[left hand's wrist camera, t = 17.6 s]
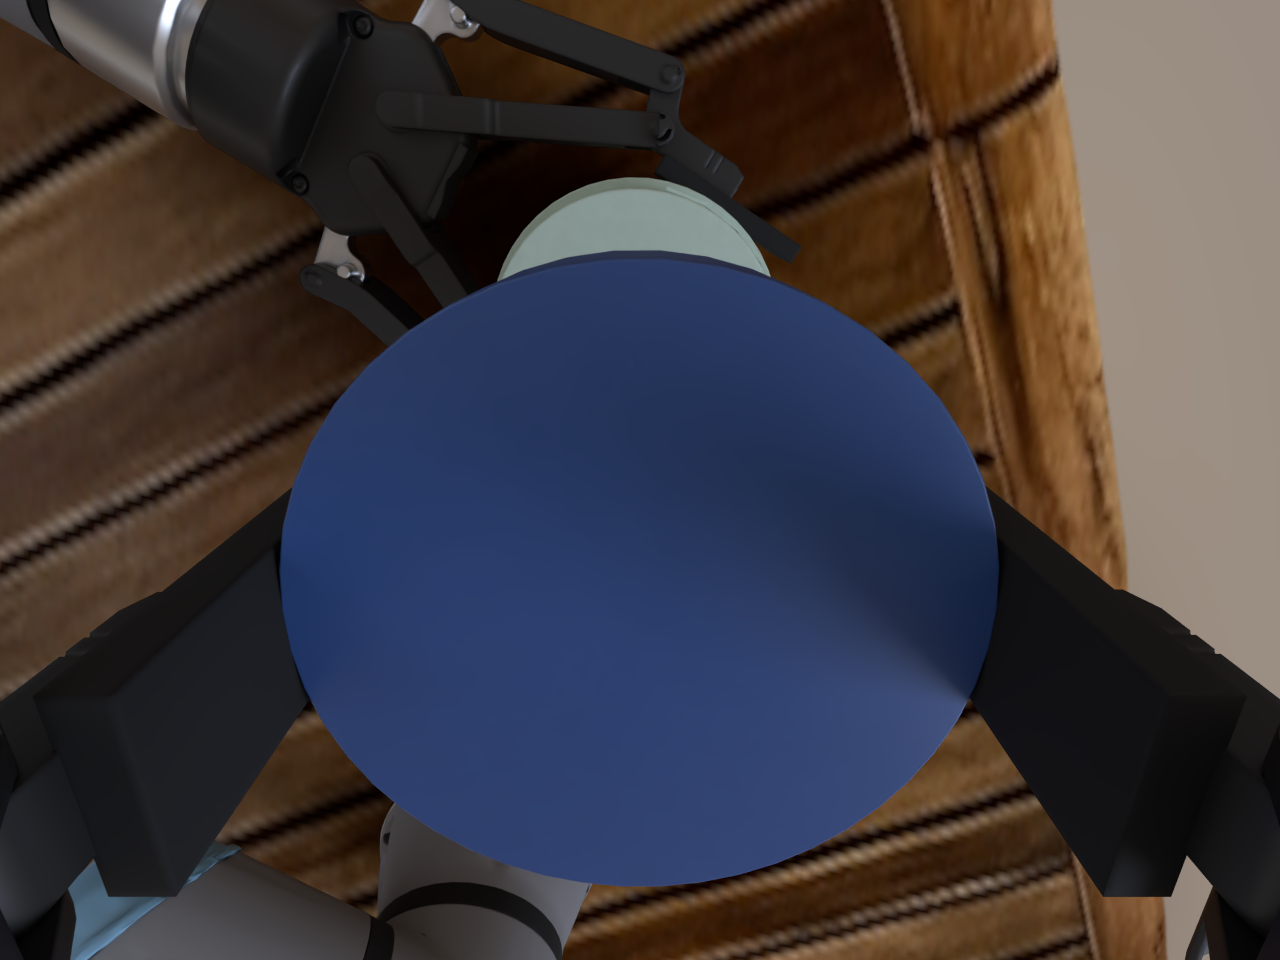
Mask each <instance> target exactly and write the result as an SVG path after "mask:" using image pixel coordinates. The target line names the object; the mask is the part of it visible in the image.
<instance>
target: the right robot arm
mask: <svg viewBox="0 0 1280 960" xmlns="http://www.w3.org/2000/svg"><path fill="white" fill-rule="evenodd" d="M0 18H2V19H4V20H5V21H7V22H9V23H11V24H12V25H14V26H16V27H18V28H19V29H21V30H23V31H25V32H26V33H28V34H30V35H32V36H33V37H35V38H37V39H38V40H40V41H42V42H44V43H45V44H47V45H49V46H50V47H52V48H54V49H56V50H57V51H59V52H61V53H62V54H64V55H65V56H67V57H68V58H70V59H72V60H73V61H75V62H76V63H78V64H80V65H81V66H83V67H85V68H86V69H88V70H90V71H91V72H93V73H94V74H96V75H98V76H99V77H101V78H102V79H104V80H106V81H107V82H109V83H110V84H112V85H114V86H115V87H117V88H119V89H120V90H122V91H123V92H125V93H127V94H128V95H130V96H132V97H133V98H135V99H136V100H138V101H140V102H141V103H143V104H145V105H146V106H148V107H149V108H151V109H153V110H154V111H156V112H158V113H159V114H161V115H162V116H164V117H166V118H167V119H169V120H171V121H172V122H174V123H175V124H177V125H179V126H180V127H183V128H186V129H189V130H192V131H199V133H200V135H201V136H202V137H203V138H204V139H205V140H206V141H207V142H208V143H210V144H211V145H213V146H215V147H216V148H218V149H220V150H221V151H223V152H224V153H226V154H228V155H229V156H231V157H233V158H234V159H236V160H238V161H239V162H241V163H243V164H244V165H246V166H248V167H249V168H251V169H253V170H254V171H256V172H258V173H259V174H261V175H263V176H264V177H266V178H268V179H269V180H271V181H273V182H274V183H276V184H278V185H279V186H281V187H283V188H284V189H286V190H288V191H289V192H291V193H293V194H295V195H296V196H298V197H299V198H301V199H302V200H304V201H305V202H306V203H307V204H308V205H309V206H310V207H311V208H312V209H313V211H314V212H315V213H316V215H317V216H318V218H319V219H320V221H321V222H322V223H323V225H324V226H325V228H324V232H323V235H322V238H321V242H320V245H319V248H318V252H317V255H316V259H315V262H314V264H310V265H306V266H305V267H303V268H302V269H301V271H300V275H299V279H300V283H301V285H302V286H303V288H304V289H305V290H306V291H308V292H309V293H311V294H314V295H316V296H318V297H320V298H322V299H324V300H327V301H329V302H331V303H333V304H335V305H337V306H340V307H342V308H344V309H346V310H348V311H349V312H351V313H352V314H353V315H354V316H355V317H356V318H357V319H358V320H359V321H360V322H362V323H363V324H364V325H365V326H366V327H367V328H368V329H369V330H370V331H371V332H373V333H374V334H375V335H376V336H377V337H378V338H379V339H380V340H381V341H382V342H384V343H385V344H386V345H387V346H388V347H389V346H391V345H392V344H393V343H394V342H395V341H396V340H398V339H399V338H400V337H401V336H402V335H403V334H404V333H406V332H407V331H409V330H410V329H412V328H414V327H415V326H417V325H418V324H420V323H421V322H423V321H425V320H424V319H423V318H422V317H421V316H420V315H419V314H418V313H416V312H415V311H414V310H413V309H412V308H411V307H410V306H409V305H408V304H407V303H406V302H405V301H404V300H403V299H402V298H400V297H399V296H398V295H397V294H396V293H395V292H394V291H393V290H392V289H390V288H389V287H388V286H387V285H386V284H384V283H383V282H381V281H380V280H378V279H377V278H375V277H373V276H371V274H372V267H371V264H370V262H369V261H368V260H367V259H366V258H365V257H364V256H363V255H362V254H360V252H359V251H358V249H357V247H356V242H355V240H356V236H357V235H370V234H383V233H388V234H389V235H390V237H391V238H392V240H393V241H394V243H395V244H396V246H397V247H398V249H399V250H400V252H401V253H402V254H403V256H404V257H405V259H406V260H407V261H408V262H409V263H410V264H411V265H412V266H413V267H415V268H416V269H417V270H418V272H419V273H420V274H421V276H422V277H423V279H424V280H425V282H426V283H427V285H428V286H429V288H430V289H431V291H432V292H433V294H434V295H435V297H436V298H437V300H438V301H439V302H440V304H441V305H442V307H443V308H445V307H447V306H448V305H450V304H452V303H454V302H456V301H458V300H460V299H462V298H464V297H466V296H468V295H470V294H472V293H474V292H476V291H478V290H480V287H479V285H478V284H477V282H476V281H475V279H474V278H473V276H472V275H471V273H470V272H469V270H468V269H467V267H466V265H465V264H464V262H463V261H462V259H461V258H460V256H459V255H458V253H457V251H456V249H455V246H454V243H453V241H452V239H451V237H450V236H449V234H448V233H447V231H446V230H445V228H444V227H443V225H442V223H441V220H442V219H447V218H448V216H449V214H450V211H451V209H452V207H453V205H454V203H455V199H456V193H457V188H458V183H459V182H460V180H461V179H462V178H463V177H464V176H465V175H466V174H467V173H468V171H469V170H470V169H471V168H472V166H473V164H474V162H475V160H476V158H477V155H478V153H479V151H478V150H477V139H483V140H496V141H521V142H535V143H548V144H562V145H576V146H590V147H603V148H617V149H631V150H645V151H655V152H656V153H658V154H659V155H661V156H662V157H663V159H662V161H661V162H660V164H659V166H658V168H657V169H656V171H655V175H657V176H658V177H659V178H661V179H662V180H664V181H669V182H672V183H675V184H678V185H681V186H684V187H687V188H689V189H691V190H693V191H695V192H698V193H700V194H702V195H704V196H706V197H707V198H709V199H710V200H712V201H713V202H715V203H716V204H718V205H719V206H721V207H722V208H723V209H724V210H725V211H726V212H728V213H729V214H730V215H731V216H732V217H733V218H734V219H735V220H737V222H738V223H739V224H740V225H741V226H742V227H743V229H744V230H745V231H746V232H747V233H748V235H749V236H750V237H751V239H752V240H753V241H754V242H756V243H757V244H759V245H760V246H762V247H763V248H765V249H766V250H768V251H769V252H771V253H772V254H774V255H775V256H776V257H778V258H780V259H782V260H784V261H787V262H789V263H791V262H792V261H793V259H794V258H795V256H796V255H797V253H798V252H799V250H800V249H801V246H800V245H798V244H797V243H796V242H794V241H793V240H791V239H790V238H788V237H787V236H785V235H784V234H782V233H781V232H779V231H778V230H777V229H775V228H774V227H772V226H771V225H769V224H768V223H766V222H765V221H763V220H762V219H760V218H759V217H758V216H756V215H755V214H753V213H752V212H750V211H749V210H747V209H746V208H744V207H743V206H741V205H740V204H739V203H737V202H736V201H734V200H733V199H731V198H732V196H733V195H734V193H735V192H736V190H737V188H738V187H739V185H740V184H741V182H742V180H743V179H744V176H743V175H742V173H741V171H740V170H739V168H738V167H737V165H735V164H734V163H732V162H731V161H730V160H728V159H727V158H725V157H724V156H722V155H721V154H719V153H718V152H716V151H715V150H714V149H712V148H711V147H709V146H708V145H707V144H705V143H704V142H702V141H701V140H699V139H698V138H696V137H695V136H694V135H692V134H691V133H689V132H688V131H687V130H686V129H685V128H684V127H683V126H682V124H681V122H680V120H679V114H678V110H679V104H680V99H681V94H682V89H683V84H684V79H685V70H684V66H683V64H682V63H681V61H680V60H679V59H677V58H675V57H673V56H671V55H668V54H665V53H662V52H660V51H657V50H654V49H651V48H649V47H646V46H643V45H641V44H638V43H635V42H632V41H630V40H627V39H624V38H621V37H619V36H616V35H613V34H610V33H608V32H605V31H602V30H599V29H597V28H594V27H591V26H588V25H586V24H583V23H580V22H577V21H575V20H572V19H569V18H566V17H564V16H561V15H558V14H556V13H553V12H550V11H547V10H545V9H542V8H539V7H536V6H534V5H531V4H528V3H525V2H523V1H520V0H424V1H423V3H422V5H421V7H420V9H419V10H418V12H417V14H416V16H415V18H414V19H413V21H412V23H409V22H398V21H390V20H386V19H383V18H380V17H379V16H377V15H376V14H374V13H373V12H371V11H370V10H368V9H367V8H365V7H364V6H362V5H361V4H359V3H358V2H356V1H355V0H0ZM483 32H486V33H487V34H488V35H490V36H492V37H493V38H495V39H497V40H499V41H500V42H503V43H505V44H507V45H510V46H512V47H515V48H518V49H521V50H523V51H526V52H529V53H532V54H535V55H537V56H540V57H543V58H546V59H549V60H551V61H554V62H557V63H560V64H563V65H565V66H568V67H571V68H574V69H577V70H579V71H582V72H585V73H588V74H591V75H593V76H596V77H599V78H602V79H605V80H607V81H610V82H613V83H616V84H619V85H621V86H624V87H627V88H630V89H633V90H635V91H638V92H641V93H644V94H647V95H649V99H648V105H647V110H646V111H632V110H619V109H605V108H592V107H578V106H564V105H551V104H537V103H524V102H510V101H498V100H493V99H487V98H477V97H464V96H462V94H461V92H460V90H459V88H458V85H457V83H456V81H455V79H454V76H453V74H452V72H451V70H450V67H449V65H448V63H447V61H446V58H445V56H444V54H443V52H442V50H441V48H440V46H441V44H442V43H443V42H444V41H445V40H447V39H449V38H458V39H460V40H462V41H465V42H470V43H471V42H475V41H476V40H478V39H479V38H480V36H481V35H482V33H483Z"/></svg>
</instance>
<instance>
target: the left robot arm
mask: <svg viewBox="0 0 1280 960" xmlns="http://www.w3.org/2000/svg"><path fill="white" fill-rule="evenodd" d="M985 487H986V486H985ZM986 490H987V494H988V498H989V502H990V506H991V509H992V513H993V517H994V521H995V527H996V537H997V547H998V557H999V585H998V605H997V612H996V617H995V622H994V627H993V631H992V636H991V641H990V646H989V650H988V652H987V655H986V658H985V661H984V664H983V666H982V669H981V672H980V675H979V677H978V680H977V683H976V686H975V688H974V689H973V691H972V693H971V695H970V697H969V698H970V699H971V701H972V702H973V704H974V705H975V707H976V708H977V710H978V711H979V713H980V714H981V716H982V717H983V719H984V720H985V722H986V723H987V725H988V726H989V728H990V729H991V731H992V732H993V734H994V735H995V737H996V738H997V740H998V741H999V743H1000V744H1001V746H1002V747H1003V748H1004V750H1005V751H1006V753H1007V754H1008V756H1009V757H1010V759H1011V760H1012V762H1013V763H1014V765H1015V766H1016V768H1017V769H1018V771H1019V772H1020V774H1021V775H1022V777H1023V778H1024V780H1025V781H1026V783H1027V784H1028V786H1029V787H1030V789H1031V790H1032V792H1033V793H1034V795H1035V796H1036V798H1037V799H1038V801H1039V802H1040V804H1041V805H1042V806H1043V808H1044V809H1045V811H1046V812H1047V814H1048V815H1049V817H1050V818H1051V820H1052V821H1053V823H1054V824H1055V826H1056V827H1057V829H1058V830H1059V832H1060V833H1061V835H1062V836H1063V838H1064V839H1065V841H1066V842H1067V844H1068V845H1069V847H1070V848H1071V850H1072V851H1073V853H1074V854H1075V856H1076V857H1077V859H1078V860H1079V861H1080V863H1081V864H1082V866H1083V867H1084V869H1085V870H1086V872H1087V873H1088V875H1089V876H1090V878H1091V879H1092V881H1093V882H1094V884H1095V885H1096V887H1097V888H1098V890H1099V891H1100V893H1101V894H1102V896H1103V897H1171V896H1172V893H1173V890H1174V888H1175V885H1176V882H1177V880H1178V877H1179V874H1180V872H1181V869H1182V867H1183V864H1184V861H1185V859H1186V856H1188V857H1189V858H1190V859H1191V861H1192V862H1193V863H1194V864H1195V865H1196V866H1197V868H1198V869H1199V870H1200V871H1201V872H1202V874H1203V875H1204V876H1205V877H1206V878H1207V880H1208V881H1209V882H1210V883H1211V884H1212V885H1213V887H1212V890H1211V892H1210V895H1209V897H1208V900H1207V902H1206V905H1205V907H1204V910H1203V912H1202V915H1201V917H1200V919H1199V922H1198V924H1197V927H1196V929H1195V932H1194V934H1193V937H1192V939H1191V942H1190V944H1189V946H1188V949H1187V952H1186V957H1185V960H1201V959H1202V957H1203V955H1206V954H1208V953H1209V956H1210V960H1280V699H1279V698H1278V697H1276V696H1275V695H1274V694H1272V693H1271V692H1270V691H1268V690H1267V689H1266V688H1265V687H1263V686H1262V685H1261V684H1259V683H1258V682H1257V681H1255V680H1254V679H1253V678H1251V677H1250V676H1249V675H1248V674H1246V673H1245V672H1244V671H1242V670H1241V669H1240V668H1238V667H1237V666H1236V665H1235V664H1233V663H1232V662H1231V661H1229V660H1228V659H1227V658H1225V657H1224V656H1223V655H1221V654H1215V652H1214V648H1212V647H1211V646H1210V645H1209V644H1207V643H1206V642H1205V641H1203V640H1202V639H1201V638H1199V637H1198V636H1197V635H1191V634H1190V630H1189V629H1188V628H1186V627H1185V626H1184V625H1182V624H1181V623H1180V622H1178V621H1177V620H1176V619H1175V618H1173V617H1172V616H1171V615H1169V614H1168V613H1167V612H1166V611H1164V610H1163V609H1162V608H1160V607H1157V606H1155V605H1153V604H1151V603H1149V602H1147V601H1145V600H1143V599H1141V598H1139V597H1137V596H1135V595H1133V594H1131V593H1129V592H1127V591H1125V590H1114V589H1113V588H1112V587H1111V586H1110V585H1108V584H1107V583H1106V582H1105V581H1103V580H1102V579H1101V578H1100V577H1098V576H1097V575H1096V574H1095V573H1093V572H1092V571H1091V570H1090V569H1088V568H1087V567H1086V566H1085V565H1083V564H1082V563H1081V562H1080V561H1078V560H1077V559H1076V558H1075V557H1073V556H1072V555H1071V554H1070V553H1068V552H1067V551H1066V550H1065V549H1063V548H1062V547H1061V546H1060V545H1058V544H1057V543H1056V542H1055V541H1054V540H1052V539H1051V538H1050V537H1049V536H1047V535H1046V534H1045V533H1044V532H1042V531H1041V530H1040V529H1039V528H1037V527H1036V526H1035V525H1034V524H1032V523H1031V522H1030V521H1029V520H1027V519H1026V518H1025V517H1024V516H1022V515H1021V514H1020V513H1019V512H1017V511H1016V510H1015V509H1014V508H1012V507H1011V506H1010V505H1009V504H1007V503H1006V502H1005V501H1004V500H1002V499H1001V498H1000V497H999V496H998V495H996V494H995V493H994V492H993V491H991V490H990V489H989V488H988V487H986ZM291 491H292V488H291V489H289V490H288V491H287V492H286V493H284V494H283V495H282V496H281V497H280V498H278V499H277V500H276V501H275V502H273V503H272V504H271V505H270V506H268V507H267V508H266V509H265V510H263V511H262V512H261V513H260V514H258V515H257V516H256V517H255V518H253V519H252V520H251V521H250V522H248V523H247V524H246V525H245V526H243V527H242V528H241V529H240V530H238V531H237V532H236V533H235V534H233V535H232V536H231V537H230V538H228V539H227V540H226V541H225V542H224V543H222V544H221V545H220V546H219V547H217V548H216V549H215V550H214V551H212V552H211V553H210V554H209V555H207V556H206V557H205V558H204V559H202V560H201V561H200V562H199V563H197V564H196V565H195V566H194V567H192V568H191V569H190V570H189V571H187V572H186V573H185V574H184V575H182V576H181V577H180V578H179V579H177V580H176V581H175V582H174V583H172V584H171V585H170V586H169V587H167V588H166V589H165V590H164V591H163V592H157V593H155V594H152V595H150V596H148V597H146V598H144V599H142V600H140V601H138V602H136V603H134V604H132V605H130V606H128V607H126V608H124V609H122V610H120V611H118V612H117V613H116V614H114V615H113V616H112V617H110V618H109V619H108V620H107V621H105V622H104V623H103V624H101V625H100V626H99V627H97V628H96V629H95V630H94V631H92V632H91V633H90V637H89V638H83V639H82V640H81V641H79V642H78V643H77V644H75V645H74V646H73V647H72V648H70V649H69V650H68V651H66V655H65V657H59V658H57V659H56V660H55V661H53V662H52V663H51V664H50V665H48V666H47V667H46V668H44V669H43V670H42V671H41V672H39V673H38V674H37V675H35V676H34V677H33V678H32V679H30V680H29V681H28V682H26V683H25V684H24V685H22V686H21V687H20V688H19V689H17V690H16V691H15V692H13V693H12V694H11V695H10V696H8V697H7V698H6V699H4V700H3V701H2V702H0V960H562V954H563V948H564V946H565V943H566V941H567V939H568V936H569V934H570V931H571V929H572V927H573V924H574V922H575V919H576V917H577V915H578V912H579V909H580V907H581V904H582V902H583V900H584V899H585V898H586V896H587V894H588V892H589V890H590V888H591V886H592V884H591V883H581V882H576V881H571V880H565V879H560V878H555V877H550V876H544V875H541V874H537V873H534V872H530V871H527V870H524V869H520V868H517V867H513V866H510V865H507V864H504V863H501V862H499V861H497V860H494V859H492V858H489V857H487V856H484V855H482V854H479V853H477V852H474V851H472V850H469V849H468V848H466V847H464V846H462V845H460V844H458V843H456V842H454V841H452V840H451V839H449V838H447V837H445V836H443V835H441V834H439V833H437V832H435V831H434V830H432V829H431V828H430V827H428V826H427V825H425V824H424V823H422V822H421V821H419V820H418V819H416V818H415V817H413V816H412V815H410V814H409V813H407V812H406V811H404V810H403V809H402V808H400V807H399V806H398V805H397V804H396V803H395V802H392V804H391V806H390V809H389V811H388V813H387V816H386V818H385V821H384V824H383V826H382V831H381V837H380V861H381V862H380V870H379V884H378V910H377V918H375V917H373V916H371V915H369V914H368V913H366V912H363V911H361V910H359V909H357V908H355V907H353V906H351V905H349V904H347V903H345V902H343V901H341V900H338V899H336V898H334V897H332V896H330V895H328V894H326V893H324V892H322V891H320V890H318V889H316V888H314V887H311V886H309V885H307V884H305V883H303V882H301V881H299V880H297V879H295V878H293V877H291V876H289V875H287V874H284V873H282V872H280V871H278V870H276V869H274V868H272V867H270V866H268V865H266V864H264V863H262V862H260V861H257V860H255V859H253V858H251V857H249V856H248V855H246V854H244V853H242V852H241V851H242V848H240V847H239V846H237V845H235V844H231V845H228V846H227V845H224V844H222V843H219V842H217V841H214V840H215V838H216V837H217V836H218V834H219V833H220V831H221V830H222V828H223V827H224V825H225V824H226V822H227V821H228V819H229V818H230V816H231V815H232V813H233V812H234V810H235V809H236V807H237V806H238V804H239V803H240V801H241V800H242V798H243V797H244V795H245V794H246V792H247V791H248V789H249V788H250V786H251V785H252V783H253V782H254V781H255V779H256V778H257V776H258V775H259V773H260V772H261V770H262V769H263V767H264V766H265V764H266V763H267V761H268V760H269V758H270V757H271V755H272V754H273V752H274V751H275V749H276V748H277V746H278V745H279V743H280V742H281V740H282V739H283V737H284V736H285V734H286V733H287V731H288V730H289V728H290V727H291V726H292V724H293V723H294V721H295V720H296V718H297V717H298V715H299V714H300V712H301V711H302V709H303V708H304V706H305V705H306V703H307V702H308V700H309V699H310V698H309V696H308V694H307V692H306V690H305V689H304V686H303V683H302V681H301V678H300V675H299V673H298V670H297V667H296V665H295V662H294V659H293V656H292V652H291V648H290V643H289V639H288V634H287V629H286V624H285V620H284V615H283V610H282V604H281V593H280V578H279V564H280V553H281V541H282V530H283V524H284V520H285V516H286V512H287V508H288V503H289V499H290V495H291ZM93 858H94V860H95V861H94V862H93V863H92V864H91V865H90V866H88V867H87V868H86V866H87V865H88V864H89V863H90V862H91V861H92V859H93ZM85 868H86V869H85ZM84 869H85V870H84ZM83 870H84V871H83ZM82 871H83V872H82ZM81 872H82V873H81Z"/></svg>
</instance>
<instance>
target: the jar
mask: <svg viewBox="0 0 1280 960" xmlns="http://www.w3.org/2000/svg"><path fill="white" fill-rule="evenodd" d="M615 250H663V251H670V252H678V253H686V254H693V255H701V256H708V257H711V258H715V259H718V260H722V261H726V262H729V263H733V264H737V265H740V266H744V267H747V268H751V269H754V270H756V271H758V272H761V273H763V274H765V275H767V276H770V274H769V270H768V268H767V266H766V264H765V262H764V260H763V257H762V255H761V253H760V251H759V250H758V248H757V247H756V245H755V243H754V242H753V240H752V239H751V237H750V236H749V235H748V233H747V232H746V231H745V230H744V229H743V227H742V226H741V225H740V224H739V223H738V222H737V220H735V219H734V218H733V217H732V216H731V215H730V214H729V213H728V212H726V211H725V210H724V209H723V208H722V207H721V206H719V205H718V204H716V203H715V202H713V201H712V200H710V199H709V198H707V197H706V196H704V195H702V194H700V193H698V192H695V191H693V190H691V189H689V188H687V187H684V186H681V185H678V184H675V183H672V182H669V181H663V180H657V179H651V178H632V177H627V178H618V179H610V180H605V181H601V182H597V183H594V184H590V185H587V186H584V187H582V188H580V189H577V190H575V191H573V192H570V193H569V194H567V195H565V196H564V197H562V198H560V199H559V200H557V201H555V202H554V203H552V204H551V205H550V206H548V207H547V208H546V209H545V210H543V211H542V212H541V213H540V214H539V215H537V216H536V217H535V219H534V220H533V221H532V222H531V223H530V224H529V225H528V226H527V227H526V228H525V229H524V230H523V232H522V233H521V235H520V236H519V238H518V239H517V240H516V242H515V243H514V245H513V246H512V248H511V250H510V252H509V254H508V256H507V258H506V260H505V262H504V264H503V266H502V269H501V272H500V275H499V278H498V280H497V281H500V280H502V279H504V278H506V277H509V276H511V275H513V274H515V273H518V272H520V271H522V270H525V269H528V268H532V267H535V266H539V265H542V264H546V263H549V262H553V261H556V260H559V259H563V258H566V257H572V256H579V255H586V254H593V253H600V252H607V251H615Z"/></svg>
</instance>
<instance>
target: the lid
mask: <svg viewBox="0 0 1280 960" xmlns="http://www.w3.org/2000/svg"><path fill="white" fill-rule="evenodd" d="M279 578H280V593H281V604H282V610H283V615H284V620H285V624H286V629H287V634H288V639H289V643H290V648H291V652H292V656H293V659H294V662H295V665H296V667H297V670H298V673H299V675H300V678H301V681H302V683H303V686H304V689H305V690H306V692H307V694H308V696H309V698H310V700H311V702H312V703H313V705H314V707H315V709H316V711H317V713H318V715H319V716H320V718H321V720H322V722H323V724H324V725H325V726H326V728H327V729H328V731H329V732H330V733H331V735H332V736H333V738H334V739H335V740H336V742H337V743H338V744H339V746H340V747H341V749H342V750H343V751H344V753H345V754H346V756H347V757H348V758H349V759H350V760H351V761H352V762H353V763H354V764H355V765H356V766H357V767H358V768H359V770H360V771H361V772H362V773H363V774H364V775H365V776H366V777H367V778H368V779H369V780H370V781H371V782H372V784H373V785H375V786H376V787H377V788H378V789H379V790H381V791H382V792H383V793H384V794H385V795H386V796H388V797H389V798H390V799H391V800H392V801H393V802H395V803H396V804H397V805H398V806H399V807H400V808H402V809H403V810H404V811H406V812H407V813H409V814H410V815H412V816H413V817H415V818H416V819H418V820H419V821H421V822H422V823H424V824H425V825H427V826H428V827H430V828H431V829H432V830H434V831H435V832H437V833H439V834H441V835H443V836H445V837H447V838H449V839H451V840H452V841H454V842H456V843H458V844H460V845H462V846H464V847H466V848H468V849H469V850H472V851H474V852H477V853H479V854H482V855H484V856H487V857H489V858H492V859H494V860H497V861H499V862H501V863H504V864H507V865H510V866H513V867H517V868H520V869H524V870H527V871H530V872H534V873H537V874H541V875H544V876H550V877H555V878H560V879H565V880H571V881H576V882H581V883H591V884H602V885H613V886H667V885H677V884H687V883H697V882H704V881H709V880H714V879H719V878H724V877H729V876H734V875H739V874H742V873H745V872H749V871H752V870H755V869H759V868H762V867H765V866H769V865H772V864H775V863H778V862H780V861H783V860H785V859H788V858H790V857H792V856H795V855H797V854H800V853H802V852H804V851H807V850H809V849H812V848H814V847H815V846H817V845H819V844H821V843H823V842H825V841H827V840H828V839H830V838H832V837H834V836H836V835H838V834H839V833H841V832H843V831H845V830H847V829H848V828H850V827H851V826H853V825H854V824H855V823H857V822H858V821H860V820H861V819H863V818H864V817H866V816H867V815H869V814H870V813H871V812H873V811H874V810H876V809H877V808H879V807H880V806H881V805H882V804H883V803H884V802H886V801H887V800H888V799H889V798H890V797H891V796H892V795H894V794H895V793H896V792H897V791H898V790H899V789H901V788H902V787H903V786H904V785H905V784H906V783H907V782H909V780H910V779H911V778H912V777H913V776H914V775H915V774H916V773H917V772H918V770H919V769H920V768H921V767H922V766H923V765H924V764H925V763H926V762H927V761H928V759H929V758H930V757H931V756H932V755H933V754H934V753H935V751H936V750H937V749H938V747H939V746H940V744H941V743H942V742H943V740H944V739H945V737H946V736H947V734H948V733H949V732H950V730H951V729H952V727H953V726H954V724H955V723H956V722H957V720H958V718H959V716H960V714H961V712H962V711H963V709H964V707H965V705H966V703H967V701H968V699H969V697H970V695H971V693H972V691H973V689H974V688H975V686H976V683H977V680H978V677H979V675H980V672H981V669H982V666H983V664H984V661H985V658H986V655H987V652H988V650H989V646H990V641H991V636H992V631H993V627H994V622H995V617H996V612H997V605H998V585H999V557H998V547H997V537H996V527H995V521H994V517H993V513H992V509H991V506H990V502H989V498H988V494H987V490H986V487H985V483H984V480H983V477H982V475H981V473H980V471H979V468H978V466H977V464H976V461H975V459H974V457H973V455H972V452H971V450H970V448H969V446H968V443H967V441H966V439H965V437H964V436H963V434H962V433H961V431H960V429H959V428H958V426H957V425H956V423H955V422H954V420H953V418H952V417H951V415H950V414H949V412H948V411H947V409H946V408H945V406H944V404H943V403H942V401H941V400H940V398H939V397H938V396H937V395H936V394H935V393H934V392H933V391H932V389H931V388H930V387H929V386H928V385H927V384H926V383H925V381H924V380H923V379H922V378H921V377H920V376H919V375H918V374H917V372H916V371H915V370H914V369H913V368H912V367H911V366H910V364H909V363H908V362H907V361H905V360H904V359H903V358H902V357H901V356H899V355H898V354H897V353H896V352H895V351H894V350H892V349H891V348H890V347H889V346H888V345H886V344H885V343H884V342H883V341H882V340H880V339H879V338H878V337H877V336H876V335H874V334H873V333H872V332H871V331H870V330H868V329H867V328H865V327H864V326H862V325H860V324H859V323H857V322H855V321H854V320H852V319H851V318H849V317H847V316H846V315H844V314H842V313H841V312H839V311H838V310H836V309H834V308H833V307H831V306H829V305H828V304H826V303H825V302H823V301H821V300H819V299H817V298H815V297H813V296H811V295H809V294H807V293H805V292H803V291H801V290H799V289H797V288H795V287H793V286H790V285H788V284H786V283H784V282H781V281H779V280H777V279H774V278H772V277H770V276H767V275H765V274H763V273H761V272H758V271H756V270H754V269H751V268H747V267H744V266H740V265H737V264H733V263H729V262H726V261H722V260H718V259H715V258H711V257H708V256H701V255H693V254H686V253H678V252H670V251H663V250H615V251H607V252H600V253H593V254H586V255H579V256H572V257H566V258H563V259H559V260H556V261H553V262H549V263H546V264H542V265H539V266H535V267H532V268H528V269H525V270H522V271H520V272H518V273H515V274H513V275H511V276H509V277H506V278H504V279H502V280H500V281H497V282H495V283H493V284H491V285H489V286H486V287H484V288H482V289H480V290H478V291H476V292H474V293H472V294H470V295H468V296H466V297H464V298H462V299H460V300H458V301H456V302H454V303H452V304H450V305H448V306H447V307H445V308H443V309H442V310H440V311H439V312H437V313H436V314H434V315H432V316H431V317H429V318H428V319H426V320H425V321H423V322H421V323H420V324H418V325H417V326H415V327H414V328H412V329H410V330H409V331H407V332H406V333H404V334H403V335H402V336H401V337H400V338H399V339H398V340H396V341H395V342H394V343H393V344H392V345H391V346H389V347H388V348H387V349H386V350H385V351H384V352H382V353H381V354H380V355H379V356H378V357H377V358H376V359H374V360H373V361H372V362H371V363H370V364H369V365H367V366H366V368H365V369H364V370H363V371H362V372H361V374H360V375H359V376H358V377H357V378H356V379H355V381H354V382H353V383H352V384H351V385H350V386H349V388H348V389H347V390H346V391H345V392H344V393H343V395H342V396H341V397H340V398H339V399H338V400H337V402H336V403H335V404H334V406H333V408H332V409H331V411H330V412H329V414H328V416H327V417H326V419H325V420H324V422H323V424H322V425H321V427H320V429H319V430H318V432H317V433H316V435H315V437H314V438H313V440H312V441H311V443H310V446H309V448H308V450H307V453H306V455H305V458H304V460H303V462H302V465H301V467H300V469H299V472H298V474H297V477H296V479H295V481H294V484H293V487H292V491H291V495H290V499H289V503H288V508H287V512H286V516H285V520H284V524H283V530H282V541H281V553H280V564H279Z"/></svg>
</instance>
